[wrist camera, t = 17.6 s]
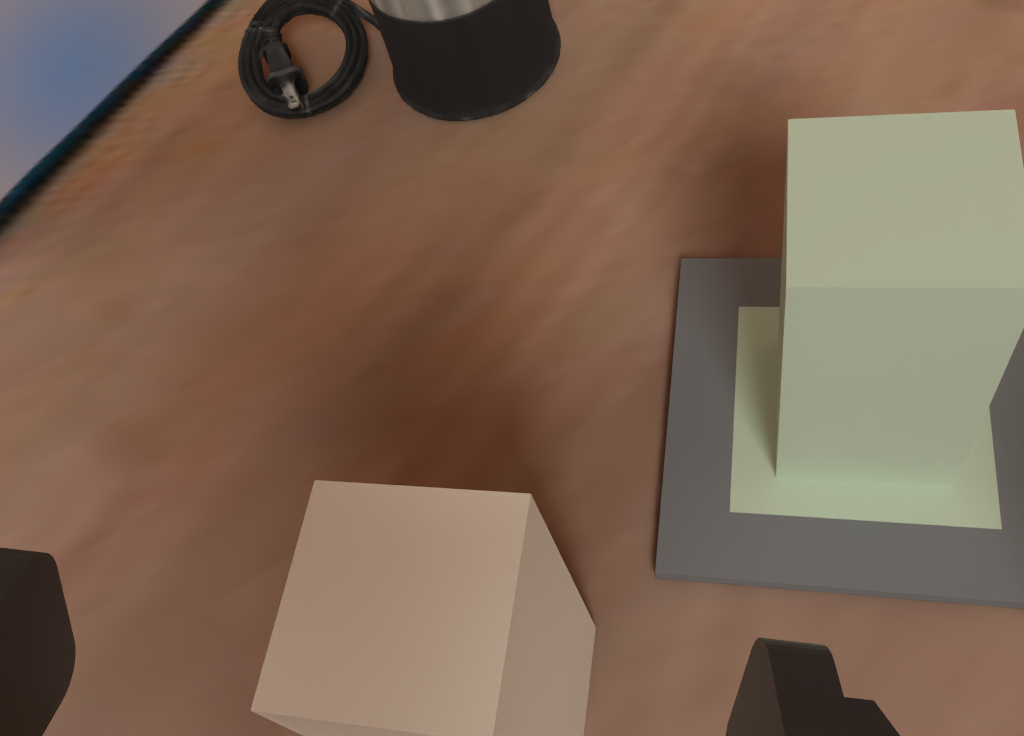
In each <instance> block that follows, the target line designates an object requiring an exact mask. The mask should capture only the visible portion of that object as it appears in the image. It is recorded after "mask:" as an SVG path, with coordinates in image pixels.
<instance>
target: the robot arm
mask: <svg viewBox="0 0 1024 736" xmlns="http://www.w3.org/2000/svg"><path fill="white" fill-rule="evenodd" d="M74 663H75V641H74V637H73V632H72V628H71V624H70V620H69V615H68V611H67V607H66V602H65V598H64V594H63V590H62V585H61V581H60V577H59V573H58V568H57V565H56V562H55V560H54V558H53V557H52V556H51V555H50V554H48V553H42V552H34V551H25V550H16V549H8V548H0V736H42V735H43V733H44V732H45V730H46V728H47V726H48V725H49V723H50V721H51V719H52V718H53V716H54V714H55V712H56V711H57V709H58V707H59V705H60V704H61V702H62V700H63V698H64V696H65V694H66V692H67V689H68V687H69V684H70V681H71V677H72V674H73V669H74ZM726 736H900V735H899V734H898V732H897V731H896V730H895V728H894V727H893V726H892V724H891V723H890V722H889V720H888V719H887V718H886V716H885V715H884V714H883V712H882V711H881V710H880V708H879V707H878V706H877V704H876V703H875V702H874V701H873V700H864V699H856V698H847V697H844V696H843V692H842V688H841V685H840V681H839V677H838V674H837V670H836V666H835V663H834V659H833V656H832V654H831V652H830V650H829V649H828V647H826V646H825V645H818V644H809V643H801V642H792V641H783V640H775V639H766V638H758V639H757V640H756V641H755V643H754V644H753V647H752V650H751V653H750V656H749V659H748V662H747V665H746V668H745V672H744V675H743V678H742V681H741V684H740V687H739V690H738V693H737V697H736V700H735V703H734V706H733V709H732V712H731V715H730V718H729V722H728V726H727V731H726Z"/></svg>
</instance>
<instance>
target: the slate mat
mask: <svg viewBox="0 0 1024 736" xmlns="http://www.w3.org/2000/svg"><path fill="white" fill-rule="evenodd" d="M781 266H782V258H681V269H680V281H679V293H678V305H677V316H676V328H675V340H674V352H673V364H672V376H671V388H670V400H669V412H668V424H667V436H666V448H665V460H664V472H663V483H662V495H661V507H660V519H659V531H658V543H657V555H656V567H655V574H656V578H662V579H674V580H686V581H698V582H710V583H722V584H734V585H746V586H758V587H770V588H782V589H794V590H806V591H817V592H829V593H841V594H853V595H865V596H877V597H889V598H901V599H913V600H925V601H937V602H949V603H961V604H973V605H985V606H997V607H1009V608H1021V609H1024V328H1023V331H1022V333H1021V335H1020V337H1019V340H1018V342H1017V344H1016V346H1015V349H1014V351H1013V353H1012V356H1011V358H1010V360H1009V362H1008V365H1007V367H1006V369H1005V371H1004V374H1003V376H1002V378H1001V380H1000V383H999V385H998V387H997V390H996V392H995V394H994V396H993V399H992V401H991V403H990V405H989V408H988V410H987V412H986V414H985V417H984V419H983V421H982V424H981V426H980V428H979V430H978V433H977V435H976V437H975V439H974V442H973V444H972V446H971V449H970V451H969V453H968V455H967V458H966V460H965V462H964V464H963V467H962V469H961V471H960V473H959V476H958V478H957V480H956V483H955V485H954V487H952V486H932V485H912V484H893V483H873V482H853V481H834V480H814V479H794V478H776V444H777V381H778V332H779V310H780V288H781Z"/></svg>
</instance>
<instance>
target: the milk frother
mask: <svg viewBox="0 0 1024 736" xmlns="http://www.w3.org/2000/svg"><path fill="white" fill-rule="evenodd" d="M369 3H370V5H371V7H372V9H373V12H374V15H375V16H374V15H372V14H370V13H369V12H367V11H365V10H364V9H362V8H361V7H360V6H358V5H357V4H355V3H354V2H352V1H350V0H267V1H265V3H264V4H263V5H262V6H261V8H260V9H259V10H258V12H257V13H256V14H255V15H254V17H253V19H252V20H251V22H250V24H249V26H248V28H247V29H246V31H245V35H244V37H243V39H242V43H241V47H240V51H239V57H238V70H239V76H240V80H241V83H242V85H243V88H244V89H245V91H246V93H247V95H248V96H249V98H250V99H251V100H252V101H253V103H254V104H255V105H256V106H257V107H259V108H260V109H261V110H263V111H264V112H266V113H268V114H270V115H272V116H277V117H282V118H289V119H292V118H304V117H308V116H313V115H315V114H318V113H321V112H324V111H326V110H328V109H330V108H332V107H334V106H336V105H337V104H339V103H340V102H342V101H343V100H344V99H345V98H347V97H348V96H349V95H350V94H351V93H352V91H353V90H354V88H355V87H356V86H357V84H358V83H359V81H360V79H361V77H362V76H363V72H364V69H365V66H366V62H367V49H368V45H367V38H366V32H365V29H364V26H363V24H362V22H361V20H360V17H361V18H364V19H365V20H367V21H368V22H369V23H371V24H372V25H374V26H375V27H376V28H377V29H379V30H380V31H381V34H382V37H383V39H384V42H385V45H386V47H387V50H388V53H389V56H390V59H391V62H392V65H393V78H394V83H395V86H396V88H397V91H398V93H399V94H400V96H401V98H402V99H403V100H404V101H405V102H406V103H407V104H408V105H409V106H411V107H412V108H413V109H414V110H416V111H418V112H420V113H423V114H425V115H426V116H429V117H432V118H437V119H442V120H448V121H464V120H474V119H478V118H482V117H487V116H492V115H495V114H498V113H501V112H503V111H505V110H508V109H509V108H512V107H514V106H516V105H517V104H519V103H521V102H523V101H524V100H525V99H527V98H528V97H529V96H531V95H532V94H533V93H534V92H535V91H537V90H538V89H539V88H540V87H541V86H542V85H543V84H544V83H545V82H546V80H547V79H548V78H549V76H550V75H551V73H552V72H553V70H554V68H555V66H556V64H557V61H558V59H559V55H560V48H561V41H560V35H559V31H558V29H557V26H556V23H555V22H554V20H553V19H552V15H551V10H550V6H549V2H548V0H369ZM303 14H315V15H320V16H323V17H326V18H328V19H330V20H332V21H333V22H335V23H336V24H337V25H338V26H339V27H340V28H341V30H342V31H343V33H344V35H345V39H346V51H345V56H344V59H343V61H342V63H341V66H340V67H339V69H338V71H337V72H336V73H335V75H334V76H333V77H332V78H331V79H330V81H328V82H327V83H326V84H325V85H323V86H322V87H320V88H319V89H317V90H315V91H313V92H311V93H308V94H306V93H307V92H308V85H307V83H306V80H305V77H304V75H303V71H302V69H301V68H300V67H298V66H294V65H293V63H292V61H291V54H290V52H289V49H288V46H287V44H286V43H284V42H282V36H281V33H280V30H281V28H282V27H283V26H284V25H285V24H286V23H288V22H289V21H290V20H291V19H292V18H293V17H295V16H298V15H303ZM262 57H265V60H266V62H267V64H268V65H269V69H270V72H271V73H270V74H269V75H268V76H267V82H268V84H267V83H266V81H265V79H264V75H263V69H262V63H261V58H262Z"/></svg>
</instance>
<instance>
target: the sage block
mask: <svg viewBox="0 0 1024 736" xmlns="http://www.w3.org/2000/svg"><path fill="white" fill-rule="evenodd" d="M1023 328H1024V168H1023V161H1022V154H1021V148H1020V141H1019V134H1018V128H1017V121H1016V114H1015V110H991V111H968V112H945V113H921V114H898V115H875V116H851V117H828V118H805V119H788V133H787V155H786V177H785V199H784V222H783V244H782V266H781V288H780V310H779V332H778V381H777V444H776V478H794V479H814V480H834V481H853V482H873V483H893V484H912V485H932V486H952V487H954V485H955V483H956V480H957V478H958V476H959V473H960V471H961V469H962V467H963V464H964V462H965V460H966V458H967V455H968V453H969V451H970V449H971V446H972V444H973V442H974V439H975V437H976V435H977V433H978V430H979V428H980V426H981V424H982V421H983V419H984V417H985V414H986V412H987V410H988V408H989V405H990V403H991V401H992V399H993V396H994V394H995V392H996V390H997V387H998V385H999V383H1000V380H1001V378H1002V376H1003V374H1004V371H1005V369H1006V367H1007V365H1008V362H1009V360H1010V358H1011V356H1012V353H1013V351H1014V349H1015V346H1016V344H1017V342H1018V340H1019V337H1020V335H1021V333H1022V331H1023Z"/></svg>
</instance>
